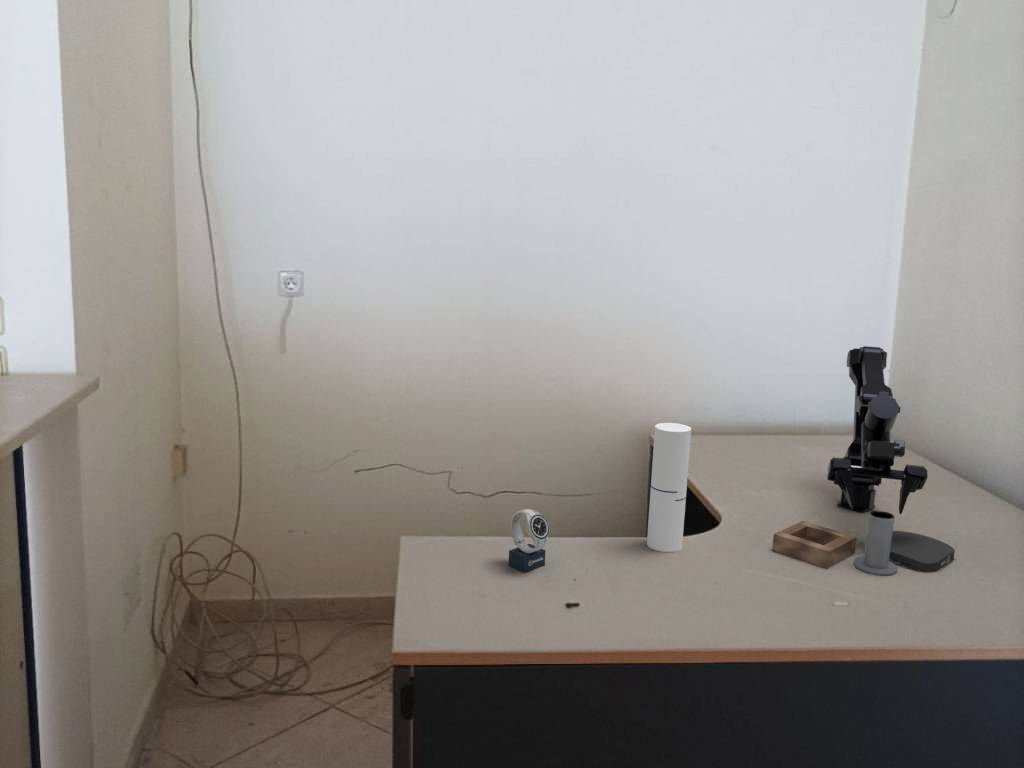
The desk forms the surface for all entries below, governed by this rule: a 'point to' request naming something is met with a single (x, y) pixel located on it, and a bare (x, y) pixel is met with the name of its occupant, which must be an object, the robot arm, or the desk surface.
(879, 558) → the planter
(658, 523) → the cylindrical container
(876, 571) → the mat
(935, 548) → the media streaming box
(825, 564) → the planter holder
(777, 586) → the desk surface
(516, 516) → the watch
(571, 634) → the desk surface
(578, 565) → the desk surface
